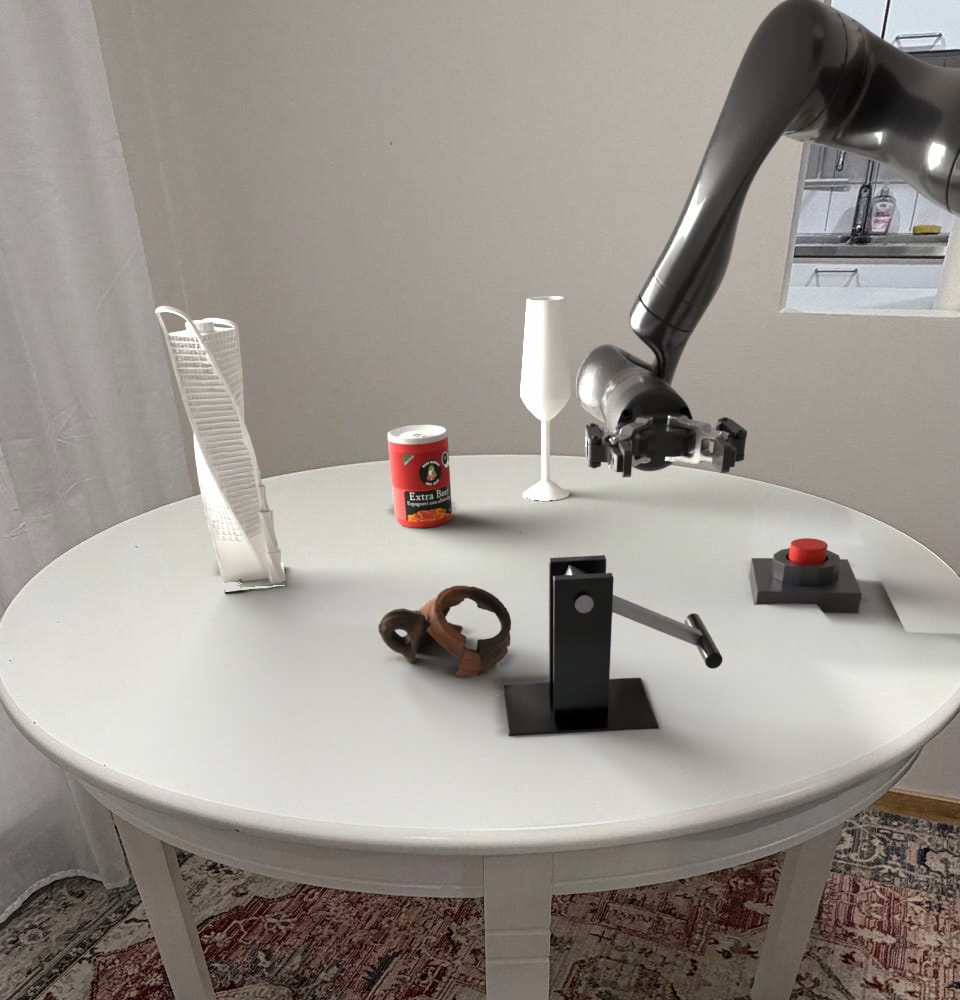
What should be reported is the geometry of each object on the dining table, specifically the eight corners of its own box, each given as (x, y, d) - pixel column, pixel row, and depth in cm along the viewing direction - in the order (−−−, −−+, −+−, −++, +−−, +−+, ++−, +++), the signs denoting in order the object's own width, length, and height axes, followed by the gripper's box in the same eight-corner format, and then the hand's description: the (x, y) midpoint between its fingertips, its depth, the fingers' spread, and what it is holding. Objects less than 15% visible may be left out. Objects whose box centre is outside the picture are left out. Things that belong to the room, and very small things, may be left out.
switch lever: (692, 636, 80) (706, 610, 79) (713, 677, 74) (729, 650, 73) (552, 579, 77) (565, 552, 76) (561, 617, 71) (575, 588, 69)
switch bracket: (639, 689, 84) (648, 544, 76) (658, 739, 76) (669, 584, 69) (503, 696, 84) (499, 551, 76) (509, 746, 76) (504, 592, 69)
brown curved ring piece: (481, 639, 95) (509, 579, 88) (498, 715, 91) (529, 658, 84) (364, 628, 91) (384, 564, 84) (376, 707, 86) (398, 646, 80)
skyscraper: (211, 594, 107) (150, 311, 91) (212, 571, 114) (156, 302, 97) (286, 586, 109) (239, 304, 92) (283, 563, 115) (239, 296, 99)
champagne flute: (512, 495, 134) (507, 299, 120) (545, 485, 138) (544, 294, 124) (546, 503, 130) (546, 302, 116) (579, 493, 134) (583, 296, 120)
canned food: (407, 532, 123) (399, 441, 116) (386, 516, 129) (378, 429, 122) (462, 522, 125) (457, 433, 119) (439, 507, 131) (433, 421, 125)
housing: (844, 579, 103) (851, 542, 101) (858, 614, 95) (865, 575, 93) (749, 577, 105) (753, 541, 102) (754, 612, 97) (760, 573, 94)
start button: (822, 555, 99) (825, 538, 98) (826, 567, 96) (829, 549, 95) (786, 554, 99) (789, 537, 98) (789, 566, 96) (792, 549, 95)
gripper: (575, 383, 93) (596, 420, 80) (721, 376, 93) (766, 412, 80) (574, 463, 97) (593, 511, 84) (713, 457, 97) (754, 503, 84)
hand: (677, 463), depth 82 cm, fingers open, 8 cm apart
